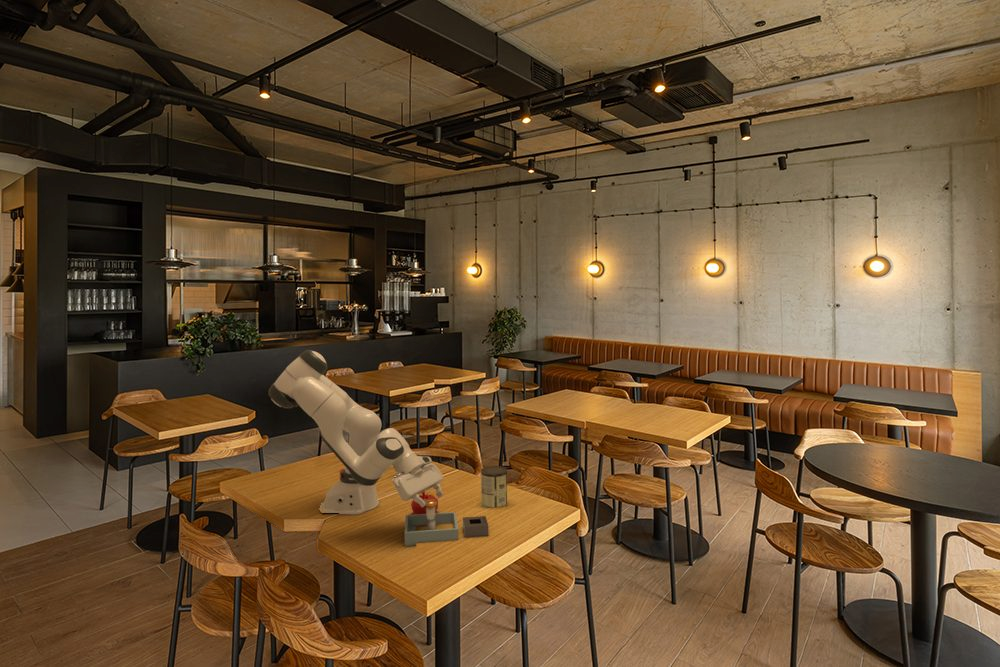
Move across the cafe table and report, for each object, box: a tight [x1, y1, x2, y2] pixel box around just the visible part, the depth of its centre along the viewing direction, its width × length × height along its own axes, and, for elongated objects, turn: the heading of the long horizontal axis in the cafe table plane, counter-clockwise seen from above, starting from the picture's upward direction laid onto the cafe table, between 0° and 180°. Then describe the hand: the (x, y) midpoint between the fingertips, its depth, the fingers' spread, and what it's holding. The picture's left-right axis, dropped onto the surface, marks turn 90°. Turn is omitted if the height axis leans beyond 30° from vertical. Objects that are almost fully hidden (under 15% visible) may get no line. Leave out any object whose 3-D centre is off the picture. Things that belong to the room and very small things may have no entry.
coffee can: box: [480, 465, 508, 509], centre depth 209 cm, size 10×10×14 cm
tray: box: [404, 511, 459, 547], centre depth 183 cm, size 18×15×4 cm
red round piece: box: [410, 491, 439, 515], centre depth 200 cm, size 10×10×9 cm
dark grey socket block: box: [462, 515, 489, 538], centre depth 183 cm, size 8×8×4 cm
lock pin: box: [425, 499, 437, 530], centre depth 183 cm, size 4×4×11 cm
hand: (433, 500), depth 183 cm, fingers open, 8 cm apart
